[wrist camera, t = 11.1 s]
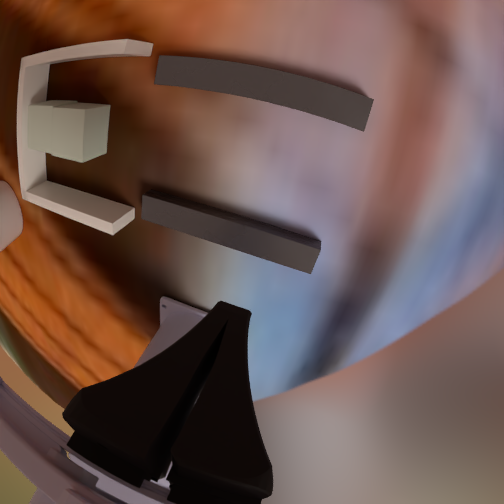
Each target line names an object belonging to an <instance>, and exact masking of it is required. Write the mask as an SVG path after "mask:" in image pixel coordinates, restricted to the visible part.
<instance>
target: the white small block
mask: <svg viewBox="0 0 504 504" xmlns="http://www.w3.org/2000/svg"><path fill="white" fill-rule="evenodd" d="M109 114H110V105H105V104H93V103H72V104H67V105H62V106H58V107H53V114H52V155H53V156H57V157H61V158H65V159H70V160H74V161H78V162H82V163H83V162H85V161H88V160H90V159H93V158H95V157H98V156H100V155H103V154H106V152H107V137H108V124H109Z"/></svg>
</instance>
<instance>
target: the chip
mask: <svg viewBox="0 0 504 504" xmlns="http://www.w3.org/2000/svg"><path fill="white" fill-rule="evenodd" d="M77 102H78V101H69V100H50V101H45V102H41V103H36V104H32V105H28V148H29V149H33V150H38V151H42V152H47V153H51V154H52V114H53V107H58V106H62V105H67V104H72V103H77Z"/></svg>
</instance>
